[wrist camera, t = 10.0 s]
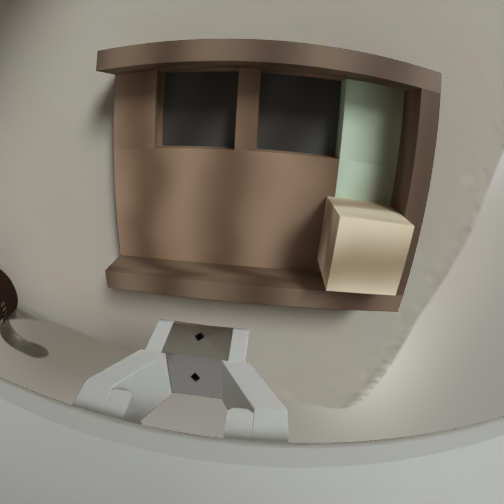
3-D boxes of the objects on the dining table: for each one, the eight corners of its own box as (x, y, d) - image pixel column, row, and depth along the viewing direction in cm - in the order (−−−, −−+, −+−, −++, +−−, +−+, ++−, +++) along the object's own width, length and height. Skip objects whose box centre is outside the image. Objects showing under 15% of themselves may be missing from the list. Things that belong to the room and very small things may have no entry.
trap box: (131, 260, 28) (107, 287, 24) (127, 60, 21) (97, 51, 16) (380, 281, 27) (397, 311, 23) (412, 79, 20) (441, 73, 16)
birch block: (326, 196, 23) (340, 216, 18) (389, 204, 23) (414, 226, 18) (317, 258, 25) (326, 290, 20) (376, 263, 25) (395, 295, 20)
